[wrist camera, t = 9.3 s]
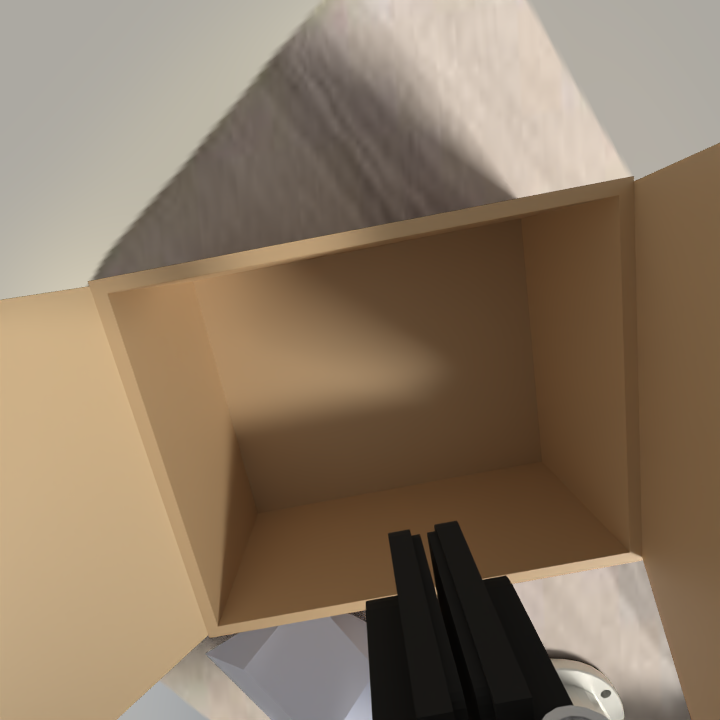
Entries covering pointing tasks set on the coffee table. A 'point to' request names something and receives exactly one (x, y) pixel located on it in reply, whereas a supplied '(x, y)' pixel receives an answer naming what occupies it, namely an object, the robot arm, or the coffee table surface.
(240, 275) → the carton
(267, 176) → the coffee table surface
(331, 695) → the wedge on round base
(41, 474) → the flap
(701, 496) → the flap
